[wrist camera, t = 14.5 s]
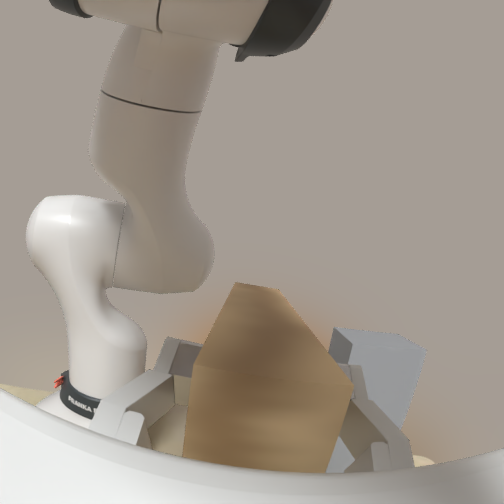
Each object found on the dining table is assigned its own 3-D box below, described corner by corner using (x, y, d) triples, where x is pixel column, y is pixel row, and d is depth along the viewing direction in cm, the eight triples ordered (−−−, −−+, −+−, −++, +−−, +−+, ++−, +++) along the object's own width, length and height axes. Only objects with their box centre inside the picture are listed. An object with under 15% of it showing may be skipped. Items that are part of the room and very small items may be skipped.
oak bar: (182, 458, 7) (193, 364, 7) (230, 313, 29) (235, 282, 29) (324, 474, 7) (354, 385, 7) (272, 320, 29) (278, 289, 29)
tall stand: (307, 490, 39) (352, 343, 39) (299, 457, 49) (333, 327, 49) (374, 488, 39) (426, 349, 39) (358, 458, 49) (398, 334, 49)
